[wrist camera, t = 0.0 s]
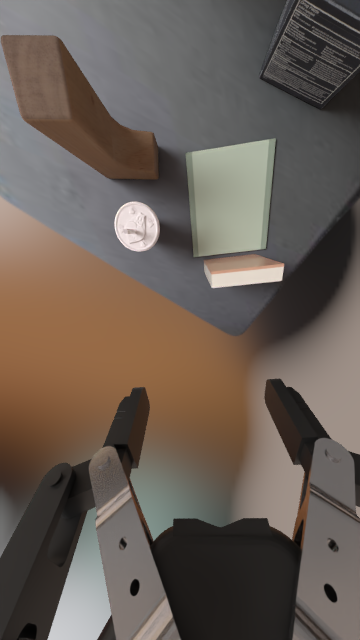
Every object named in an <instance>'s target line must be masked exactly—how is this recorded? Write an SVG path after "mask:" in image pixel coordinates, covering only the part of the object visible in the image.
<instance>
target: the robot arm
mask: <svg viewBox="0 0 360 640" xmlns="http://www.w3.org/2000/svg"><path fill="white" fill-rule="evenodd" d="M265 403H266V406H267V408H268V410H269V412H270V414H271V417H272V419H273V421H274V423H275V425H276V427H277V429H278V432H279V434H280V436H281V438H282V440H283V443H284V445H285V447H286V449H287V451H288V453H289V456H290V458H291V460H292V462H293V464H294V465H298V464H299V465H302V467H303V469H304V471H305V472H304V477H303V483H302V489H301V496H300V502H299V508H298V513H297V518H296V522H295V526H294V531H293V537H292V540H291V539H290V538H289V537H288V536H286V535H285V534H283V533H282V532H281V531H279V530H277V529H275V528H273V527H270V526H269V523H268V519H267V518H243V519H241V520H238V521H236V522H234V523H231V524H229V525H226V526H224V527H217V526H214V525H211V524H209V523H206V522H204V521H201V520H198V519H174V520H173V521H174V522H173V526H172V527H170V528H168V529H167V530H165V531H164V532H162V533H161V534H160V535H159V536H158V537H157V538H156V539H155V540H154V541H153V538H152V536H151V533H150V530H149V527H148V525H147V522H146V520H145V518H144V515H143V513H142V510H141V507H140V505H139V502H138V499H137V496H136V494H135V491H134V488H133V486H132V483H131V480H130V473H131V469H132V468H138V465H139V460H140V455H141V450H142V445H143V440H144V435H145V430H146V425H147V421H148V416H149V410H150V405H149V400H148V396H147V393H146V389H145V387H140V388H133V389H132V392H131V395H130V396H129V397H125V398H124V399H123V400H122V401H121V403H120V404H119V407H118V409H117V413H116V415H115V417H114V420H113V422H112V425H111V428H110V430H109V433H108V436H107V438H106V441H105V443H104V445H103V447H102V449H100V450H99V451H97V452H96V454H95V455H94V456H93V457H92V459H90V460H88V461H86V462H83V463H81V464H78V465H76V466H74V467H71V466H70V465H69V464H68V463H61V464H58V465H56V466H55V467H53V468H52V469H51V470H50V471H49V472H48V473H47V474H46V475H45V477H44V478H43V479H42V481H41V483H40V485H39V487H38V489H37V490H36V492H35V494H34V496H33V498H32V500H31V502H30V503H29V505H28V507H27V509H26V511H25V513H24V515H23V517H22V518H21V520H20V522H19V524H18V526H17V528H16V530H15V531H14V533H13V535H12V537H11V539H10V541H9V543H8V544H7V546H6V548H5V550H4V552H3V554H2V556H1V558H0V640H47V639H48V636H49V632H50V629H51V626H52V622H53V620H54V616H55V613H56V610H57V607H58V604H59V600H60V597H61V594H62V591H63V587H64V584H65V581H66V578H67V575H68V572H69V568H70V565H71V562H72V559H73V555H74V552H75V549H76V546H77V543H78V539H79V536H80V533H81V530H82V526H83V523H84V520H85V517H86V514H87V511H88V510H89V509H92V508H94V507H96V511H97V518H96V531H97V536H98V542H99V547H100V553H101V558H102V564H103V569H104V574H105V580H106V586H107V591H108V597H109V602H110V607H111V613H112V615H111V616H110V618H109V620H108V622H107V623H106V625H105V627H104V629H103V630H102V632H101V634H100V636H99V638H98V639H97V640H360V518H359V517H358V516H357V515H356V506H358V507H360V455H359V454H355V453H352V452H350V451H347V450H346V449H345V448H344V447H343V446H342V445H341V444H339V443H338V442H336V441H334V440H332V439H331V438H330V437H329V435H328V434H327V433H326V431H325V430H324V428H323V427H322V425H321V424H320V423H319V421H318V420H317V418H316V417H315V415H314V414H313V412H312V411H311V410H310V408H309V407H308V405H307V404H306V403H305V401H304V400H303V398H302V397H301V395H300V394H299V393H298V392H297V391H295V390H294V389H293V388H292V387H286V386H285V385H284V383H283V382H282V380H281V379H269V380H267V381H266V389H265Z"/></svg>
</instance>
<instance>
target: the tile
mask: <svg viewBox="0 0 360 640" xmlns="http://www.w3.org/2000/svg"><path fill="white" fill-rule="evenodd" d="M283 269H284V263H280V262H277V261H274V260H271V259H268V258H265V257H262V256H259V255H256V254H251V255H242V256H234V257H225V258H217V259H208V260H204V272H205V274H206V276H207V278H208V281H209V283H210V285H211V287H212V288H218V287H227V286H237V285H247V284H256V283H266V282H276V281H282V276H283Z"/></svg>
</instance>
